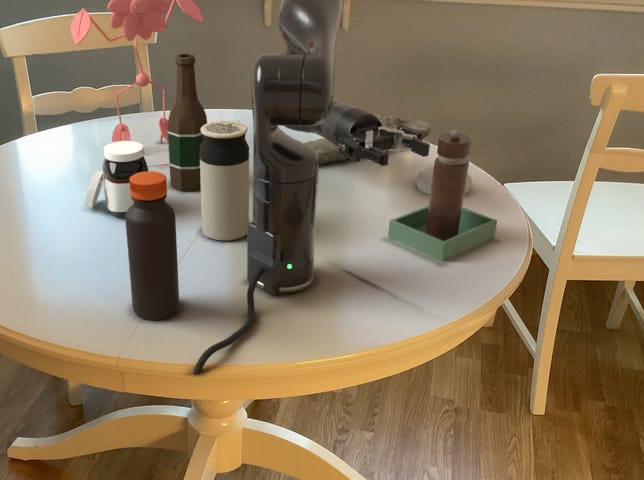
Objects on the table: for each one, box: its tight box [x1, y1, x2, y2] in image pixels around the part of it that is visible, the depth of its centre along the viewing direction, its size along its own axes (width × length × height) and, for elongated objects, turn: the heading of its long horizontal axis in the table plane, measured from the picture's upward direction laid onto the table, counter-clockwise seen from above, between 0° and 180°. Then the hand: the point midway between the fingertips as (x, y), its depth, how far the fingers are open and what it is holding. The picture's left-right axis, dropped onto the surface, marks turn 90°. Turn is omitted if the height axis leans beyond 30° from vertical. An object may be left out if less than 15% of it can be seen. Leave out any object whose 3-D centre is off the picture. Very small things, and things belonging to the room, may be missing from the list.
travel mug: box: [200, 120, 250, 242], centre depth 139 cm, size 8×8×18 cm
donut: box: [415, 166, 473, 196], centre depth 156 cm, size 10×4×10 cm
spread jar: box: [84, 140, 149, 219], centre depth 149 cm, size 12×11×12 cm
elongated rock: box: [303, 113, 431, 165], centre depth 174 cm, size 35×5×10 cm
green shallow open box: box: [387, 204, 498, 262], centre depth 138 cm, size 13×11×4 cm
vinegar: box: [124, 170, 180, 321], centre depth 117 cm, size 7×7×20 cm
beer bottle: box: [167, 53, 208, 192], centre depth 155 cm, size 8×8×24 cm
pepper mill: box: [425, 128, 472, 241], centre depth 134 cm, size 5×5×18 cm
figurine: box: [70, 0, 204, 168], centre depth 165 cm, size 15×26×35 cm, turn 111°
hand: (407, 155), depth 141 cm, fingers open, 8 cm apart
